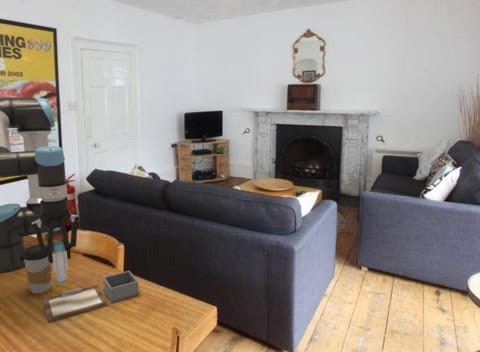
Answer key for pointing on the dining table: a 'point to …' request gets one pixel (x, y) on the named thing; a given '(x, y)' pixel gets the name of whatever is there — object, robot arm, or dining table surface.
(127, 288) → the grey open box
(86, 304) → the clipboard
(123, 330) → the dining table surface
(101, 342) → the dining table surface
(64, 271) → the marker
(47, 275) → the coffee cup
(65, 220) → the robot arm
